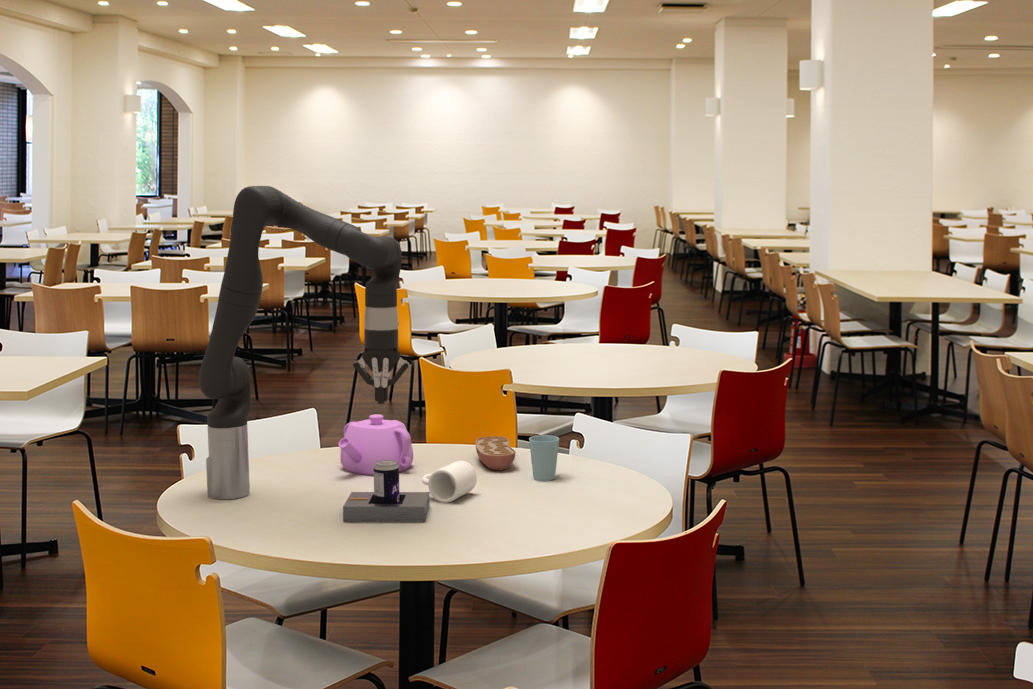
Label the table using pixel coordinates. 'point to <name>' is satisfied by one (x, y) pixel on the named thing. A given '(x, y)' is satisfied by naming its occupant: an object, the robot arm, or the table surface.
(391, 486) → the beverage can
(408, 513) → the jig
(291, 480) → the table surface
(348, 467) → the teapot
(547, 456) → the cup
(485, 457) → the anatomical model
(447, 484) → the mug
